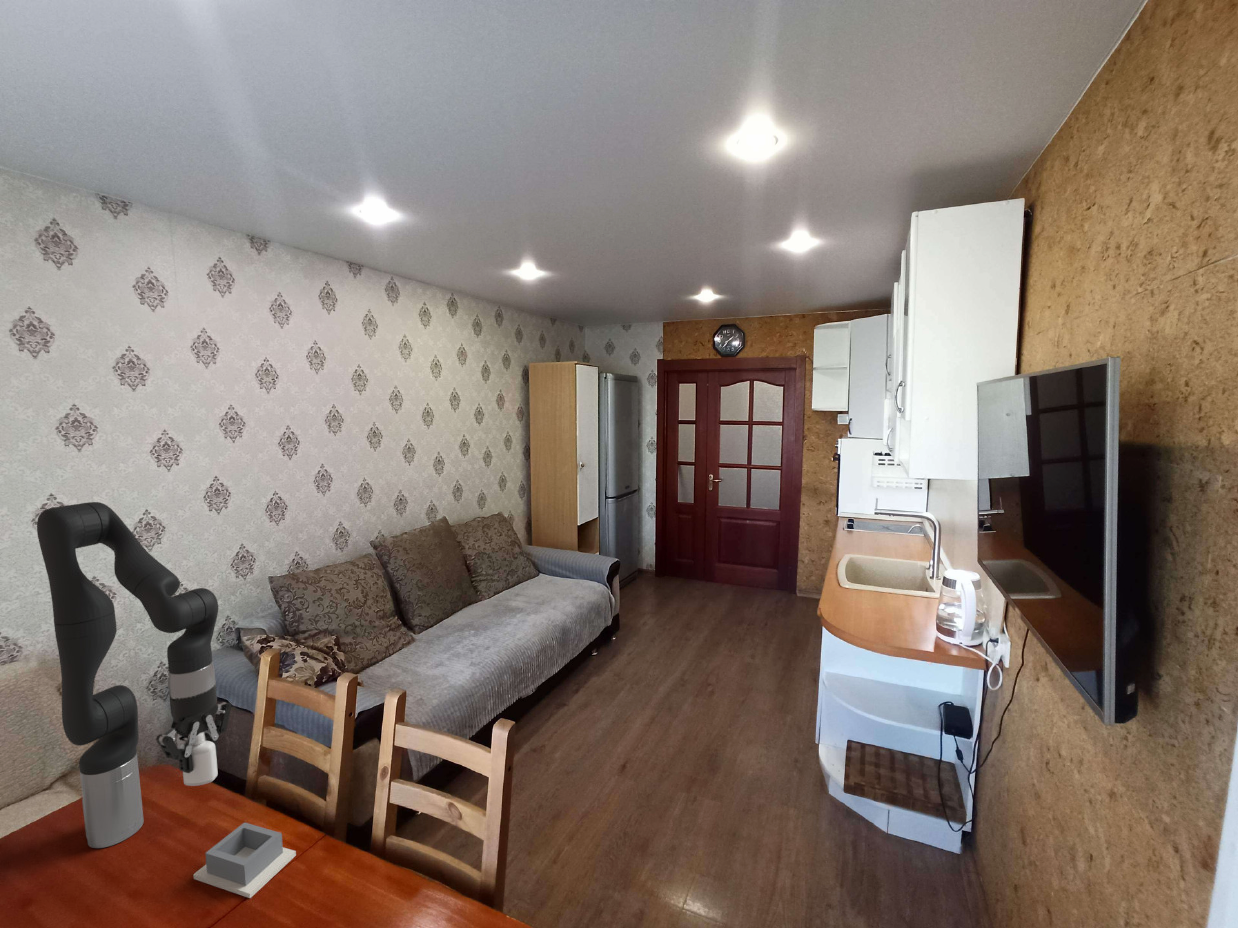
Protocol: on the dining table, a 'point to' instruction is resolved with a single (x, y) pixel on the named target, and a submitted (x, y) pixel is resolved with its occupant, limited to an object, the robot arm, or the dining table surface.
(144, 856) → the dining table surface
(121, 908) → the dining table surface
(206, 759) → the eye dropper bottle
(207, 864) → the socket
